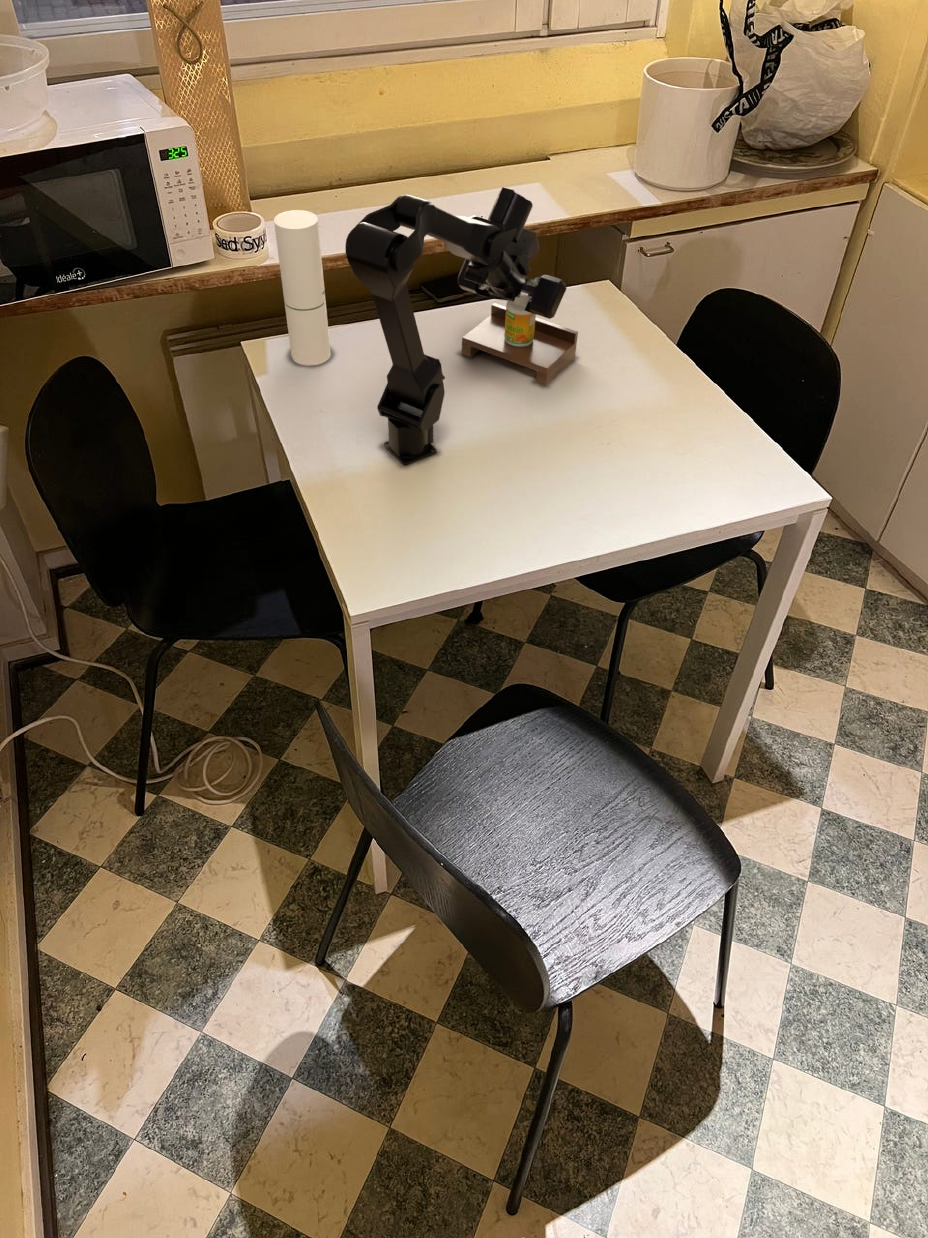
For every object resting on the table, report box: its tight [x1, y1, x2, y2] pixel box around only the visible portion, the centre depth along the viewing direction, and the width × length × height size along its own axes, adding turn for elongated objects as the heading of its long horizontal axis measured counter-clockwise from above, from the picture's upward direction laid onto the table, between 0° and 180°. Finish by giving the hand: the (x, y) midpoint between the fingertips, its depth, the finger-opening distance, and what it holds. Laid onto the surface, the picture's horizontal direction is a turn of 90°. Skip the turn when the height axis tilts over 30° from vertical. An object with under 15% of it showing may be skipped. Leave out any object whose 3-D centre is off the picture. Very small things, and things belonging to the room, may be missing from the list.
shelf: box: [461, 302, 579, 386], centre depth 167 cm, size 11×18×6 cm, turn 57°
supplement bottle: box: [504, 292, 537, 347], centre depth 163 cm, size 5×5×10 cm
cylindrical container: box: [273, 209, 332, 367], centre depth 159 cm, size 7×7×25 cm
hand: (525, 302), depth 162 cm, fingers open, 6 cm apart
